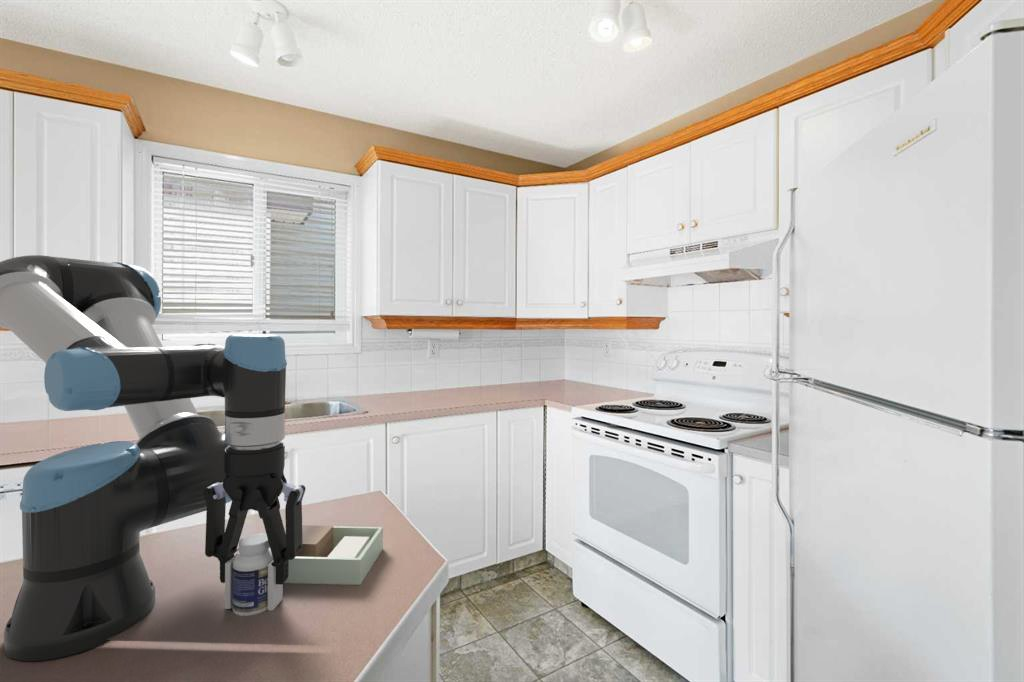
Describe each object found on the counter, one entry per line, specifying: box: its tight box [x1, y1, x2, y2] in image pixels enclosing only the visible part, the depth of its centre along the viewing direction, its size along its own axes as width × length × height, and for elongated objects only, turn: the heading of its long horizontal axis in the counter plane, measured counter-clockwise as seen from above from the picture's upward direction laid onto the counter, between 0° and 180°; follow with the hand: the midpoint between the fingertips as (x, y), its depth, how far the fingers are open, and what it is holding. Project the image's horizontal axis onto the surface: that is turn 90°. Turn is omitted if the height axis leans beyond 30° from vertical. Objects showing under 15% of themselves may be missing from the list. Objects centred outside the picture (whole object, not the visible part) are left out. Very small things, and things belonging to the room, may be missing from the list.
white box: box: [328, 536, 369, 558], centre depth 80 cm, size 4×8×3 cm, turn 179°
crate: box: [283, 525, 384, 586], centre depth 80 cm, size 16×12×4 cm
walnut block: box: [285, 524, 334, 557], centre depth 80 cm, size 7×7×5 cm
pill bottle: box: [232, 532, 273, 617], centre depth 68 cm, size 5×5×10 cm
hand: (254, 603), depth 68 cm, fingers closed on pill bottle, 5 cm apart
